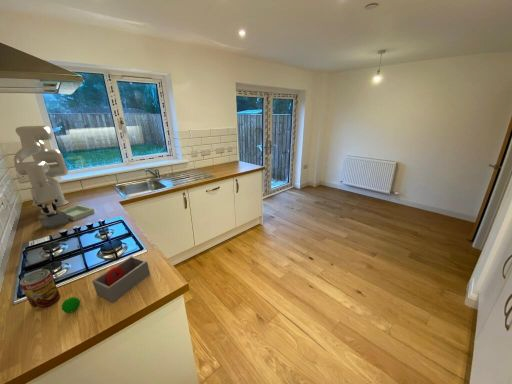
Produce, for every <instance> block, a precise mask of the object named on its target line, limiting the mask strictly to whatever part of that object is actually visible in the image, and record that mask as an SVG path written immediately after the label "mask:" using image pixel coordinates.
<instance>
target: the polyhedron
mask: <svg viewBox="0 0 512 384" xmlns="http://www.w3.org/2000/svg"><path fill="white" fill-rule="evenodd" d="M80 302H81V300H80V299H79V298H78V297H76V296H71V297H69V298H67V299H64V301H63V302H62V304H61V310H62V311H63V312H64V313H66V314H70V313H72V312H74V311H77V310H78V309H79V307H80V304H81V303H80Z"/></svg>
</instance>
